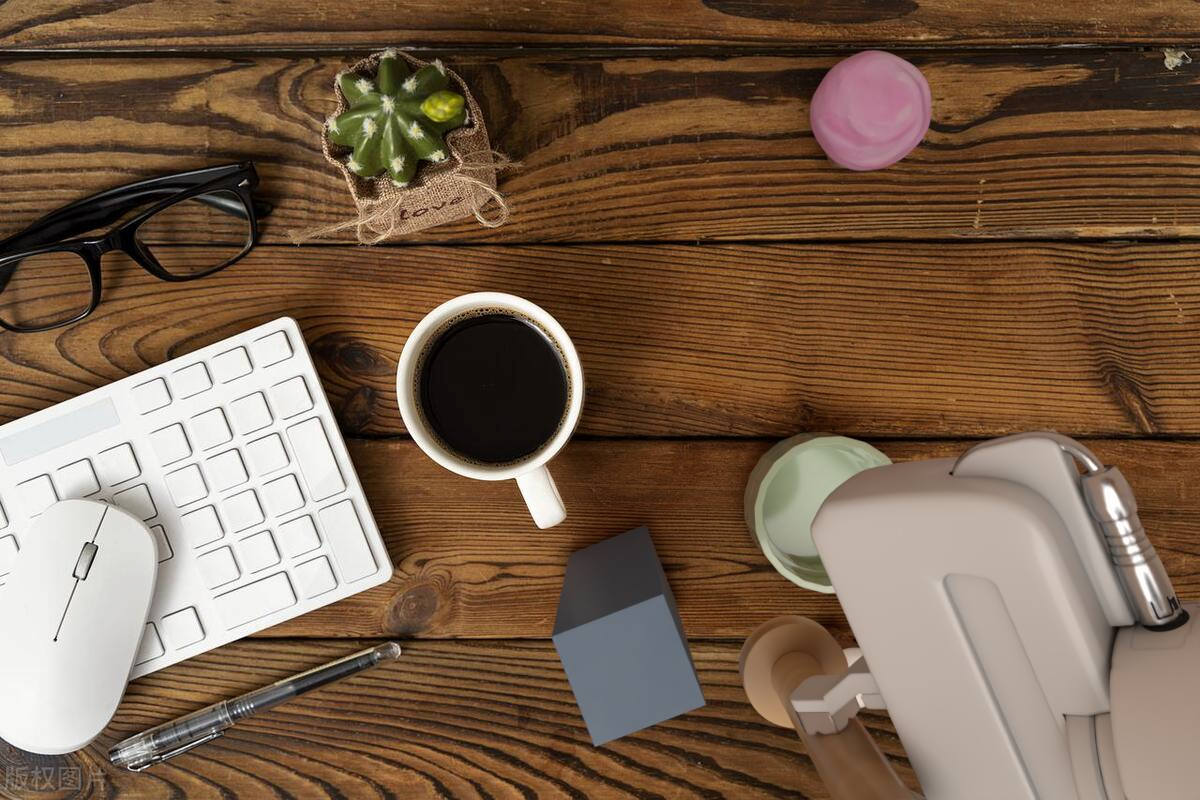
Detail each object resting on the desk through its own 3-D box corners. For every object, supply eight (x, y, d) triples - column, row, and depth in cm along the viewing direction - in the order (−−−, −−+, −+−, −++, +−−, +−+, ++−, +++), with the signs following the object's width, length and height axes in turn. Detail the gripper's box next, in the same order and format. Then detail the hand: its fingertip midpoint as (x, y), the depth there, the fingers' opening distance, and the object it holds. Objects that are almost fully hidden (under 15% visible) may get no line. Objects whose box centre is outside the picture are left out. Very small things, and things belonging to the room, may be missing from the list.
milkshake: (793, 673, 73) (822, 720, 63) (808, 612, 73) (840, 650, 63) (844, 686, 73) (882, 735, 63) (860, 625, 73) (900, 665, 63)
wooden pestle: (856, 694, 42) (1003, 885, 26) (760, 730, 42) (850, 942, 26) (819, 599, 42) (945, 735, 26) (723, 636, 42) (792, 793, 26)
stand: (675, 600, 73) (706, 704, 50) (598, 630, 73) (594, 747, 50) (645, 524, 73) (663, 593, 50) (569, 554, 73) (551, 636, 50)
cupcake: (823, 205, 72) (857, 178, 62) (775, 113, 72) (802, 70, 62) (918, 155, 72) (968, 120, 62) (870, 63, 71) (913, 12, 61)
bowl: (908, 544, 72) (935, 559, 66) (773, 596, 73) (788, 615, 67) (856, 410, 72) (879, 413, 66) (721, 462, 72) (732, 470, 66)
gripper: (1065, 456, 21) (666, 539, 31) (1388, 1209, 21) (892, 1049, 31) (1124, 379, 25) (758, 474, 35) (1391, 1005, 26) (955, 922, 36)
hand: (823, 749), depth 33 cm, fingers closed on wooden pestle, 2 cm apart
